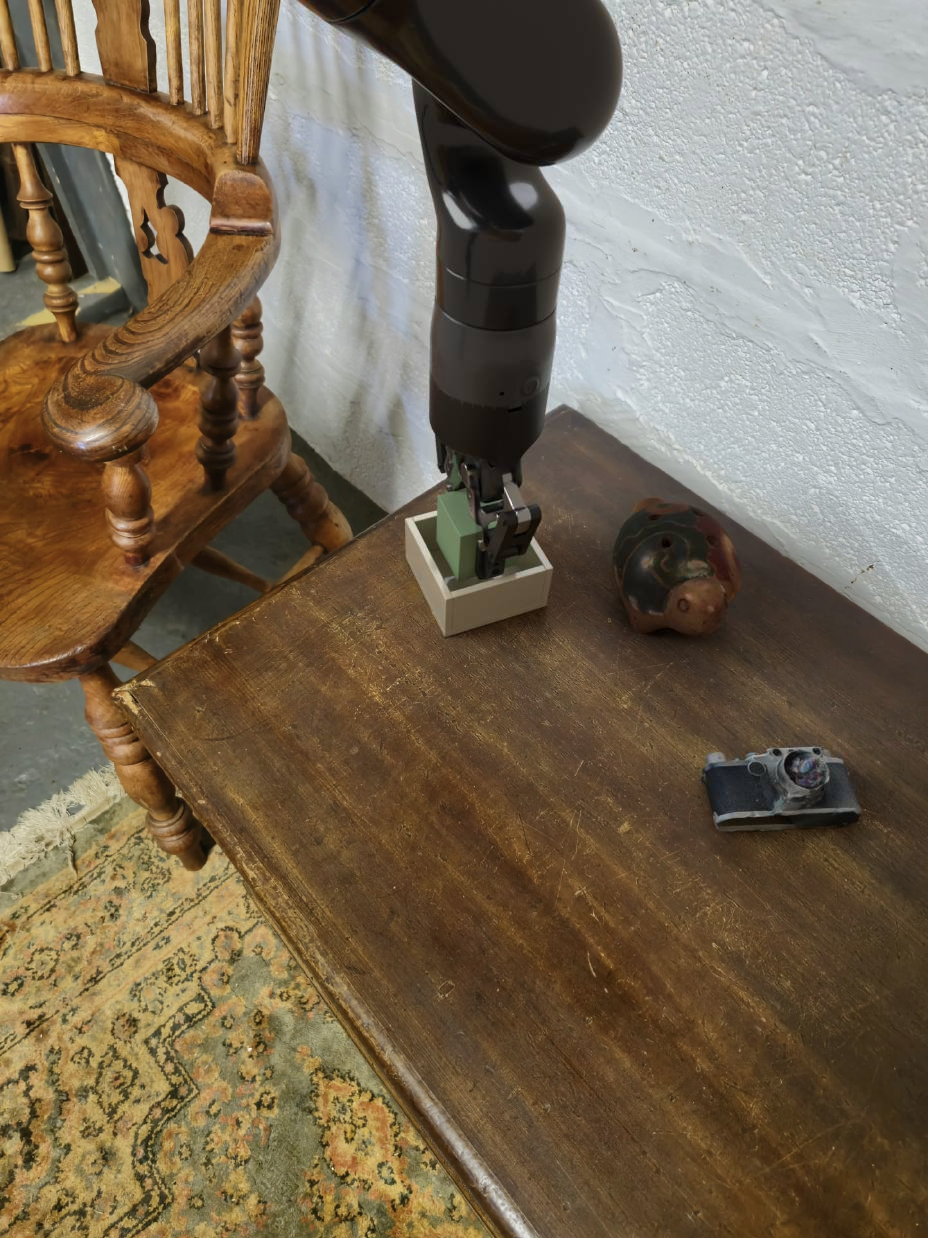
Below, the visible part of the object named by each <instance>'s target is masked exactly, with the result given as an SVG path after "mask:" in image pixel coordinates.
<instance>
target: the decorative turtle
mask: <svg viewBox="0 0 928 1238" xmlns="http://www.w3.org/2000/svg"><path fill="white" fill-rule="evenodd" d="M611 568H612V575H613V579H614V582H615V585H616V588H617V589H618V593H619V596H620V598H621V600H622V602H623V604H624V609H625V611H626V613H627V616H628V619H629V621H630V624H631V627H632V628H633V630H634V631H635V632H637V633H639V634H648V633H651V632H654V631H656V630H659V629H664V628H668V629H672V630H674V631H677V632H678V633H682V634H685V635H689V636H704V635H705V636H706V635H708V634H712V633H714V632H716V631H717V630H718V629H719V628H720V626H721V625H722V623H723V621H724V618H725V616H726V613H727V609H728V607H729V606H730V605H731V604H732V602H733V601H734V600H735V598H736V597H737V595H738V594H739V592H740V589H741V585H742V568H741V562H740V560H739V556H738V552H737V550H736V547H735V545H734V542H733V539H732V538H731V537H730V535H729V533H727V531H726V530H725V528H724V527H723V526H722V525H721V524H720V522H718V521H717V520H716V519H715V518H714V517H713V516H712V515H710V514H709V513H708V512H706V511H705V510H703V509H701V508H698V507H696V506H693V505H690V504H685V503H681V502H666V501H665V499H663V498H660V497H654V496H653V497H647V498H644V499H641V500H640V501H638V502H637V503H636V504H635V505H634V507H633V510H632V515H630V516H629V517H628V518H627V519H626V520H625V521H624V523H623V524H622V525H621V527H620V528H619V530H618V532H617V534H616V537H615V540H614V542H613V547H612V556H611Z"/></svg>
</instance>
